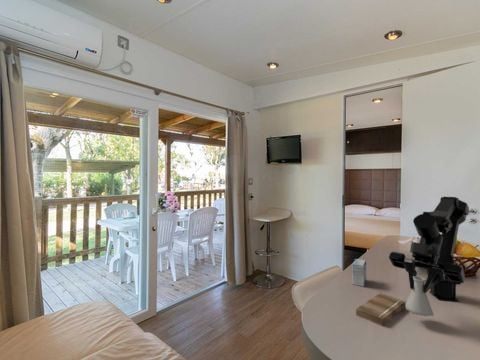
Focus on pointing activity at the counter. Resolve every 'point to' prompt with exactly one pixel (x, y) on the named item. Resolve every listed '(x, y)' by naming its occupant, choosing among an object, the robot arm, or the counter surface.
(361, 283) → the medicine box
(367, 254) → the counter surface
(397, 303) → the walnut board
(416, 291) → the flask
